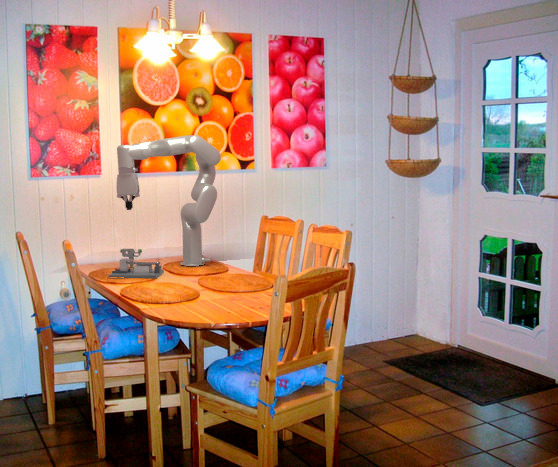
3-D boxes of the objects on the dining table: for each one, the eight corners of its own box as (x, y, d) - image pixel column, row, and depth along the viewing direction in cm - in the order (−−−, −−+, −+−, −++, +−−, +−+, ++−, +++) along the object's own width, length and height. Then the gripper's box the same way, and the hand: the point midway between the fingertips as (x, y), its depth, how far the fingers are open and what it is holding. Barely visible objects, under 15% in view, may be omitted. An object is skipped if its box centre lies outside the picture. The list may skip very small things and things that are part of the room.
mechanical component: (141, 269, 338) (140, 249, 337) (120, 269, 338) (119, 249, 337) (142, 268, 341) (142, 248, 340) (122, 268, 341) (121, 248, 340)
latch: (133, 271, 324) (133, 258, 324) (131, 272, 320) (131, 259, 320) (122, 270, 325) (122, 258, 324) (120, 272, 321) (119, 259, 320)
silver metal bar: (160, 264, 323) (160, 261, 323) (158, 266, 320) (158, 262, 320) (129, 263, 324) (129, 260, 323) (127, 265, 321) (127, 261, 320)
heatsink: (152, 271, 326) (152, 263, 325) (148, 273, 319) (148, 266, 318) (137, 270, 326) (137, 263, 325) (133, 273, 319) (133, 266, 318)
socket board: (164, 272, 330) (164, 263, 329) (156, 278, 314) (156, 268, 314) (118, 272, 331) (118, 262, 330) (108, 278, 315) (108, 268, 315)
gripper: (144, 170, 330) (146, 208, 332) (113, 171, 330) (115, 209, 333) (140, 171, 322) (143, 210, 325) (108, 172, 323) (111, 211, 325)
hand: (129, 209), depth 329 cm, fingers closed
